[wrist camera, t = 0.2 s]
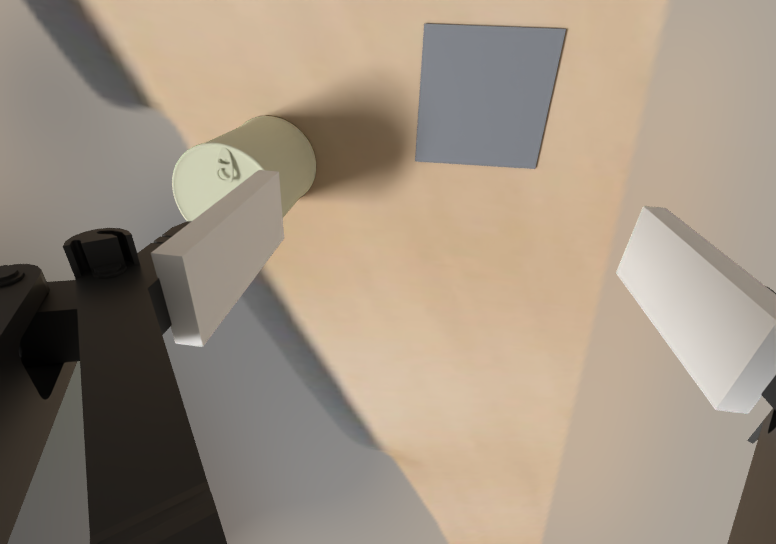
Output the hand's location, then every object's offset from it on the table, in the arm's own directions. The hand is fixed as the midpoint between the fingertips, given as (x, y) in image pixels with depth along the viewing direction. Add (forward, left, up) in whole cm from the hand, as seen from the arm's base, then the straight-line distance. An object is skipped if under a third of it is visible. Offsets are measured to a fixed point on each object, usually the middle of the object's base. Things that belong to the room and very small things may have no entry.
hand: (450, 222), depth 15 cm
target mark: (-1, +4, -28) cm, 28 cm away
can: (+6, -17, -28) cm, 33 cm away
